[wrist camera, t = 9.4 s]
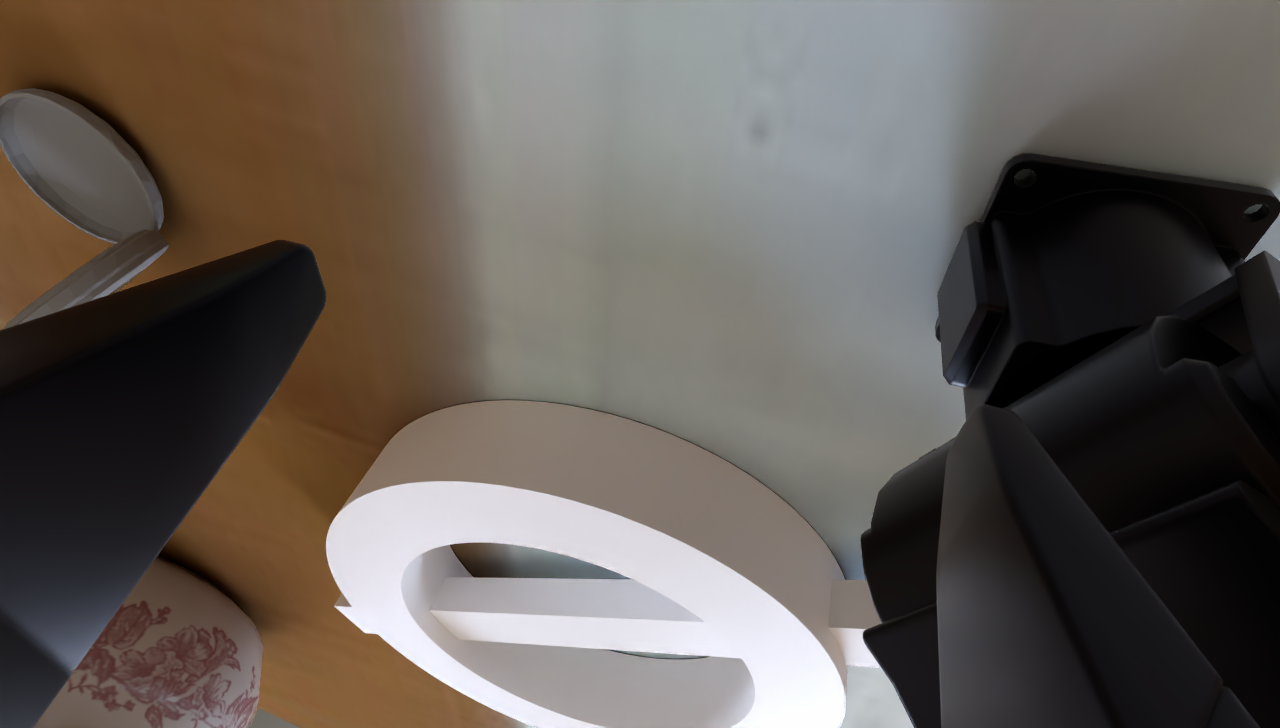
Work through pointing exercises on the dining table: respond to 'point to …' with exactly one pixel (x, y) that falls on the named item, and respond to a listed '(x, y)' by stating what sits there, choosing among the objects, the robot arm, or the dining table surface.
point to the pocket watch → (83, 191)
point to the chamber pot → (166, 661)
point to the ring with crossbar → (598, 608)
